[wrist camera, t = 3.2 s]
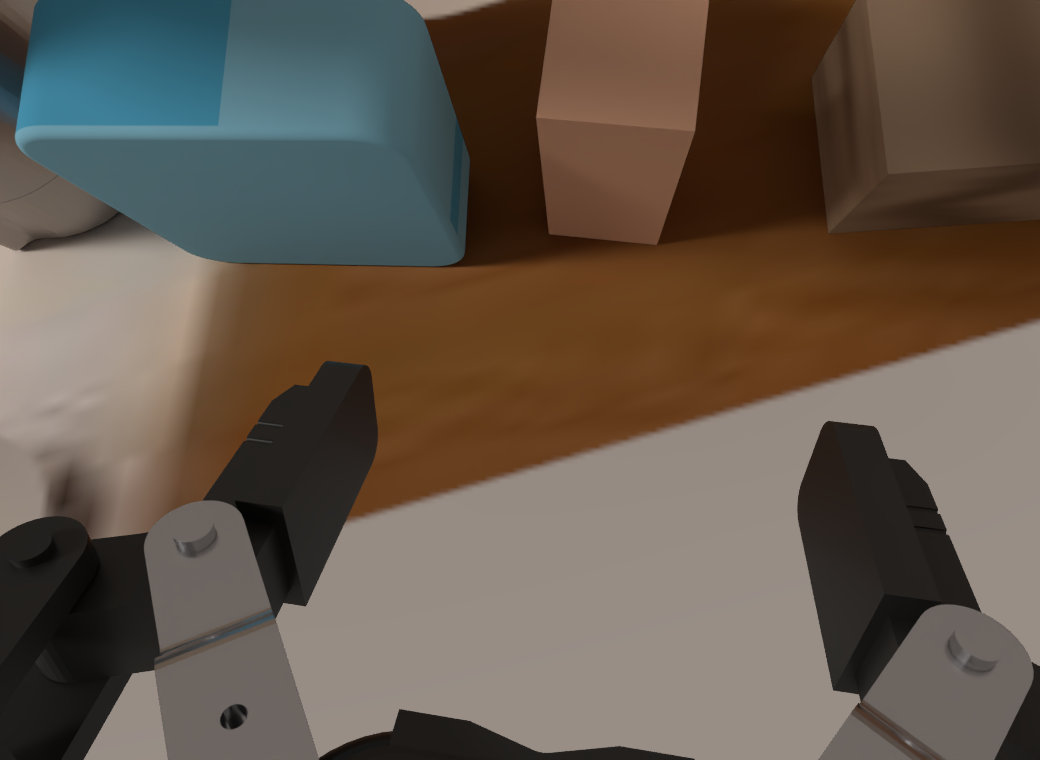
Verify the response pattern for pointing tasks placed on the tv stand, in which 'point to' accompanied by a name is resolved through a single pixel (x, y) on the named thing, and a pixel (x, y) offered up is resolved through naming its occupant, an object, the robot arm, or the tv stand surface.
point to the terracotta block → (618, 113)
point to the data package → (253, 126)
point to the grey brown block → (930, 114)
